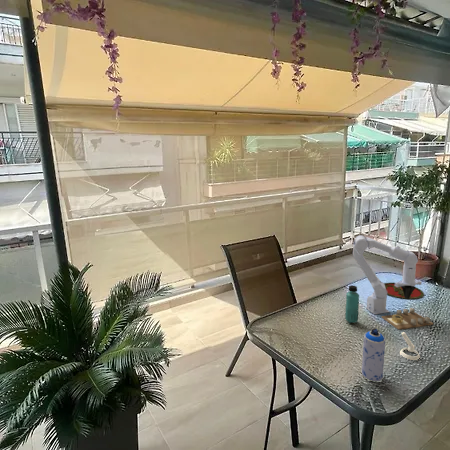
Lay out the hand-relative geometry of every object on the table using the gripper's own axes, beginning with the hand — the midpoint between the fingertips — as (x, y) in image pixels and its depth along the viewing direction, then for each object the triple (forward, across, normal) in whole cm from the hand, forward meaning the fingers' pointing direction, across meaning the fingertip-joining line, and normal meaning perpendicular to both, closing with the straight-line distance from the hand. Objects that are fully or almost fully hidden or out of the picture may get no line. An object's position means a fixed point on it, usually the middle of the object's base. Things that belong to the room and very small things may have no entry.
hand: (406, 297), depth 166 cm
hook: (+10, -25, -33) cm, 42 cm away
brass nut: (+8, -11, -7) cm, 16 cm away
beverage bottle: (+9, -33, -2) cm, 35 cm away
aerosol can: (+9, -48, -41) cm, 64 cm away
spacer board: (+9, -5, -7) cm, 13 cm away
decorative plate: (+10, +18, +26) cm, 33 cm away
